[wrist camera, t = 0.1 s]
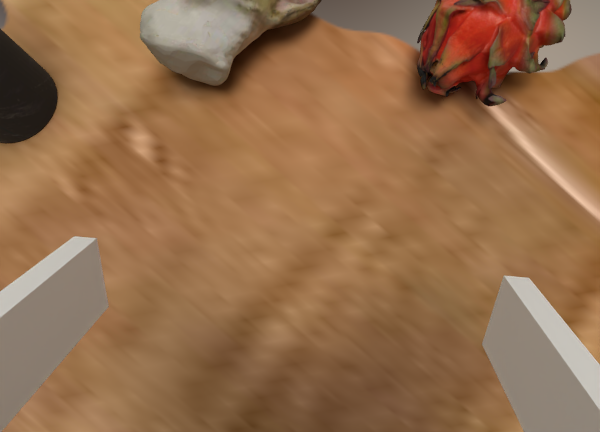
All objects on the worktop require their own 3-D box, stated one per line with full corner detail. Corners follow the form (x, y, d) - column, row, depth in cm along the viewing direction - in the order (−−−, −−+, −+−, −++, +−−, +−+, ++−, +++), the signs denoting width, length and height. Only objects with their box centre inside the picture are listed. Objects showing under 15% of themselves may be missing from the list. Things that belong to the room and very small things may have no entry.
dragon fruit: (529, 37, 33) (412, 123, 34) (494, -65, 30) (364, 33, 30) (625, 33, 26) (472, 144, 26) (594, -106, 22) (418, 26, 23)
